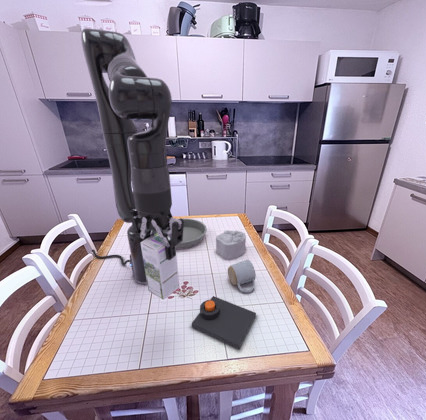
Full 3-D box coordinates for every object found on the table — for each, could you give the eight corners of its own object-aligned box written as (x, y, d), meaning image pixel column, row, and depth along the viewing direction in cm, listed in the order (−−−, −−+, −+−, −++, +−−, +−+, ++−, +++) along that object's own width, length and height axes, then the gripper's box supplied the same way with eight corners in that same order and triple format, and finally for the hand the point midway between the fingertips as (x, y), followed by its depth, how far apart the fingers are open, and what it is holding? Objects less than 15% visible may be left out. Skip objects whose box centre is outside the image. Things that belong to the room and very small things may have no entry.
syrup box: (180, 287, 61) (176, 238, 55) (162, 301, 56) (156, 249, 50) (164, 278, 63) (159, 231, 58) (147, 291, 59) (139, 241, 53)
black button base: (190, 326, 68) (189, 317, 66) (212, 299, 78) (211, 291, 76) (239, 350, 61) (239, 340, 60) (255, 316, 71) (256, 308, 70)
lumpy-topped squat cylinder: (213, 250, 104) (213, 233, 101) (236, 241, 112) (236, 225, 108) (227, 261, 97) (227, 243, 94) (250, 251, 104) (251, 234, 101)
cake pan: (183, 257, 99) (182, 248, 97) (144, 241, 111) (142, 232, 109) (216, 234, 118) (216, 226, 116) (180, 221, 130) (179, 214, 128)
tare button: (203, 309, 70) (202, 305, 69) (208, 302, 72) (208, 298, 71) (211, 313, 68) (211, 309, 68) (216, 306, 71) (216, 302, 70)
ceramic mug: (226, 278, 87) (226, 261, 84) (245, 272, 91) (246, 255, 88) (239, 297, 79) (240, 279, 76) (260, 289, 82) (262, 272, 79)
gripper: (190, 186, 49) (194, 254, 56) (140, 177, 55) (149, 239, 62) (166, 197, 43) (173, 272, 50) (112, 185, 49) (125, 254, 55)
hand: (159, 254), depth 56 cm, fingers closed on syrup box, 6 cm apart
